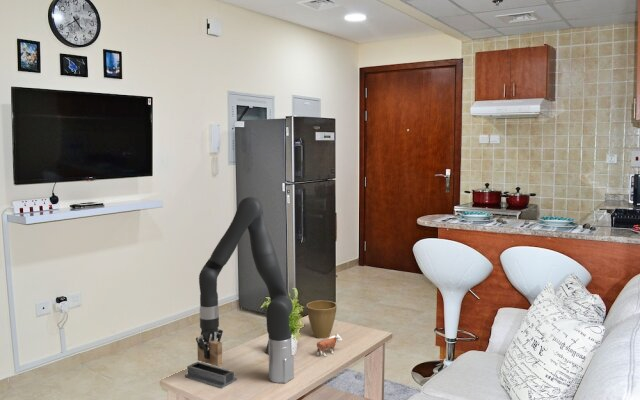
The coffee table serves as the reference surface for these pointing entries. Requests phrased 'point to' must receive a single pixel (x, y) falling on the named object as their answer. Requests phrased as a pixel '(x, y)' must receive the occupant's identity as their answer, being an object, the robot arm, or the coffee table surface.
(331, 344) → the bull figurine
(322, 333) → the plant pot
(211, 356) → the door panel
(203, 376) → the bottom track
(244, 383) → the coffee table surface
